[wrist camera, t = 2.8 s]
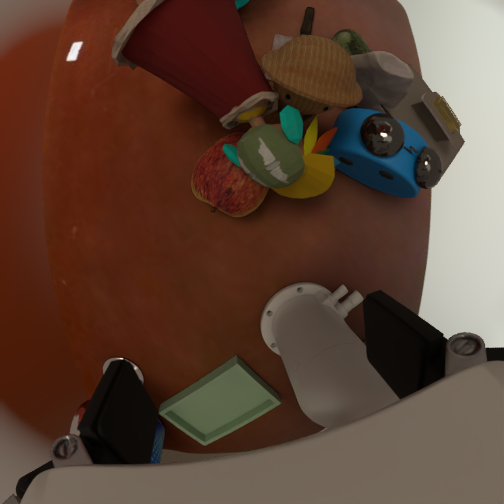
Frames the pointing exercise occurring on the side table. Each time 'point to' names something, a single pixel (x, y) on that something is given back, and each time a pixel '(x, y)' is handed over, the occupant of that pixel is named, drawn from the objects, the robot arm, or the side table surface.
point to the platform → (430, 119)
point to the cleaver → (305, 30)
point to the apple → (225, 181)
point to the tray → (220, 402)
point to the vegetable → (351, 42)
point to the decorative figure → (228, 89)
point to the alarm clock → (384, 153)
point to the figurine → (311, 77)
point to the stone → (381, 79)
